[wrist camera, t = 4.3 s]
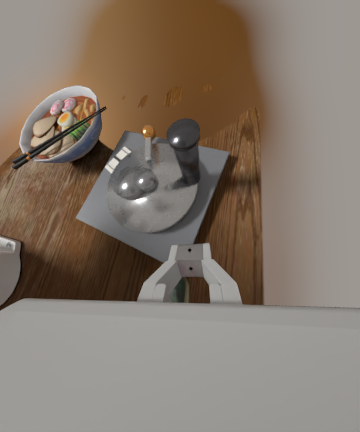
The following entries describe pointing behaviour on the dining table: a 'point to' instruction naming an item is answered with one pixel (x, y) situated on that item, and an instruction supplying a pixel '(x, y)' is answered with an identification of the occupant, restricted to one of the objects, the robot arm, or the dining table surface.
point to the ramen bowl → (61, 127)
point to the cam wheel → (157, 180)
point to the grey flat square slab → (161, 242)
